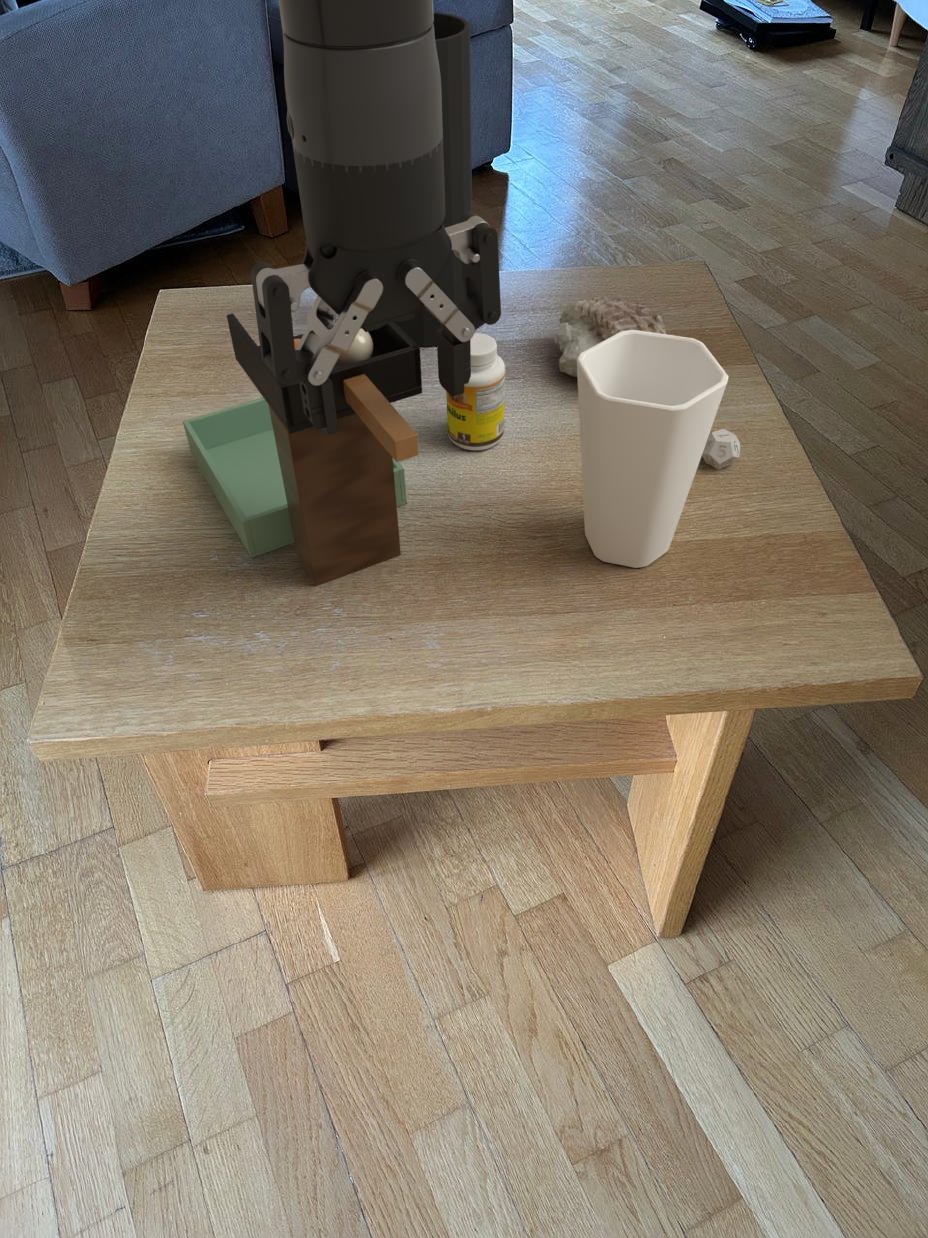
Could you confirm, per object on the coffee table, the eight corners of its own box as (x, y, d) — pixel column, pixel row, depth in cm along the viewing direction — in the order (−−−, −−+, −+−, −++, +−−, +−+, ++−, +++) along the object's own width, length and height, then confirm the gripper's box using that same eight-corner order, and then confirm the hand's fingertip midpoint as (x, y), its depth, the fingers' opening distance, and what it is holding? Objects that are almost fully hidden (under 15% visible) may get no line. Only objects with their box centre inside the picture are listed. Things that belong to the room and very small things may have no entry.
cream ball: (343, 380, 67) (339, 343, 65) (326, 359, 69) (322, 322, 67) (381, 369, 68) (379, 331, 66) (364, 348, 70) (361, 311, 68)
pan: (336, 500, 59) (329, 452, 56) (235, 359, 71) (226, 314, 68) (477, 452, 62) (477, 405, 60) (358, 325, 74) (354, 280, 71)
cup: (699, 516, 85) (736, 343, 73) (682, 592, 78) (719, 416, 66) (577, 493, 88) (592, 323, 75) (550, 565, 81) (562, 391, 69)
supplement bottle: (439, 428, 95) (435, 335, 88) (490, 415, 97) (490, 322, 89) (460, 459, 92) (458, 364, 84) (513, 445, 93) (515, 351, 86)
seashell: (526, 323, 104) (582, 245, 98) (586, 345, 110) (642, 273, 104) (581, 413, 96) (645, 335, 90) (641, 431, 102) (705, 359, 96)
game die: (742, 471, 90) (749, 445, 87) (704, 474, 89) (709, 448, 87) (730, 449, 92) (736, 423, 90) (693, 452, 92) (698, 426, 90)
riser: (315, 586, 80) (282, 402, 67) (297, 558, 82) (262, 375, 69) (401, 554, 82) (385, 371, 69) (381, 528, 85) (363, 347, 72)
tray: (251, 558, 82) (242, 522, 79) (191, 455, 93) (182, 420, 90) (407, 503, 87) (404, 468, 84) (334, 411, 98) (329, 377, 95)
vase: (373, 341, 107) (344, 39, 86) (398, 298, 114) (377, 8, 92) (461, 351, 105) (455, 45, 84) (482, 307, 112) (481, 13, 91)
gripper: (257, 186, 43) (306, 476, 54) (529, 126, 47) (520, 405, 59) (205, 134, 47) (261, 411, 59) (457, 84, 52) (463, 350, 64)
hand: (390, 408), depth 59 cm, fingers open, 8 cm apart
